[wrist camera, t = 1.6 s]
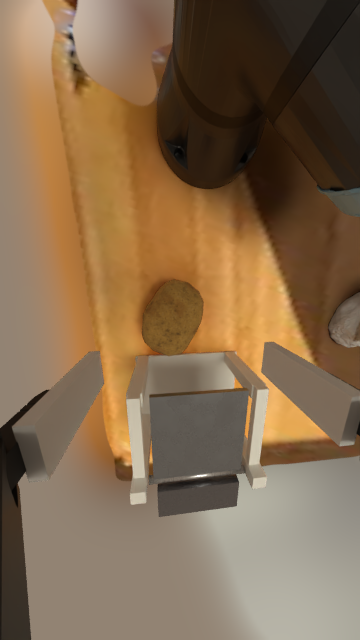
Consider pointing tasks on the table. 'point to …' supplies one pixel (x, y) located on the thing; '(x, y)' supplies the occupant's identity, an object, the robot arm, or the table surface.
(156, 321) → the potato
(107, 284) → the table surface
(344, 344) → the stone
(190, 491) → the flap
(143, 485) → the frame
